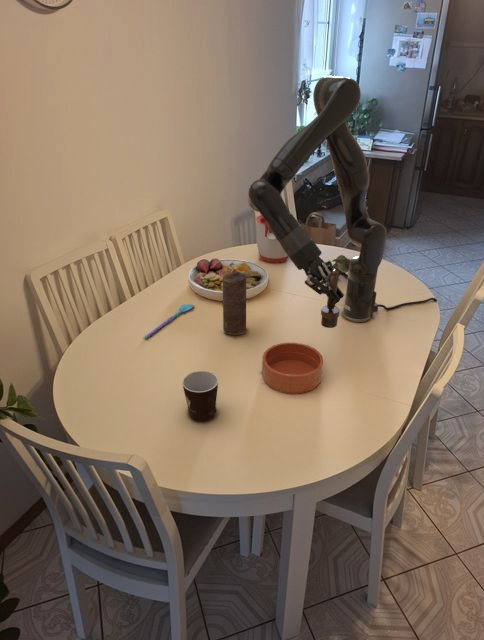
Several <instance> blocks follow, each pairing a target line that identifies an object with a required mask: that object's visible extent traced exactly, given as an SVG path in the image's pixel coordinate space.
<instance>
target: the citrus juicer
mask: <svg viewBox="0 0 484 640" xmlns="http://www.w3.org/2000/svg"><path fill="white" fill-rule="evenodd" d="M255 220H256V247H257V251H258V255H259V257H260V260H262V261H264V262H268V263H282V262H285V261H287V260H288V258H289V256H288V255H287V254H286V253H285V251H284V250H283V248H282V246H281V245H280V243H279V242H278V240H277V239H276V238H275V236H274V235H273V234H272V232H271V231H270V229H269V227H268V224H267V222H266V220H265V219H264V218H263V216H262V215H261V214H259V215H258V216H256V219H255Z"/></svg>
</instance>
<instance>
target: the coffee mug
mask: <svg viewBox="0 0 484 640" xmlns="http://www.w3.org/2000/svg"><path fill="white" fill-rule="evenodd" d="M181 384H182V388H183V392H184V397H185V401H186V405H187V410H188V414H189V417H190V419H192V420H193V421H195V422H200V423H201V422H202V423H203V422H207V421H210V420H212V419H213V418H214V417H215V414H216V412H217V407H216V406H217V398H218V388H219V378H218V376H217V375H216V374H215V373H213V372H211V371H207V370H196V371H193V372H190V373H188V374H186V375H185V376H184V377H183V379H182V381H181Z"/></svg>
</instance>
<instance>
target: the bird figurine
mask: <svg viewBox="0 0 484 640" xmlns="http://www.w3.org/2000/svg"><path fill="white" fill-rule="evenodd" d="M350 260H351V258H348V257H347V256H345V255H343V254H340V255H338V256H336V258H334V259H332V260H330V261H331V263H332V262H334V263H333V264H332V265H333V268H334V270H337V271H338V273H339V276H338V281H339V280H340V276H342V277H343V278H345V279H346V280H347V279H348V271H349V263H350Z"/></svg>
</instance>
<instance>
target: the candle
mask: <svg viewBox="0 0 484 640" xmlns="http://www.w3.org/2000/svg"><path fill="white" fill-rule="evenodd" d="M222 321H223V322H222V323H223V324H222V329H223V332H224V333H225V334H229V335H232V336H237V335H243V334H245V333H246V332H247V299H246V274H245V273H243V272H228V273H225V274H224V276H223V301H222Z"/></svg>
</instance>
